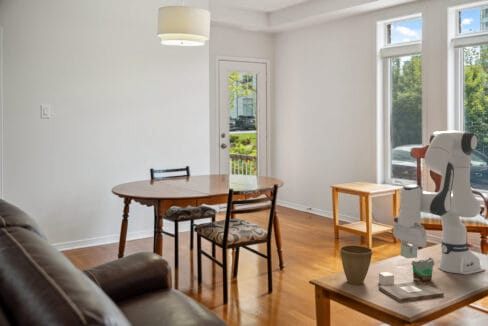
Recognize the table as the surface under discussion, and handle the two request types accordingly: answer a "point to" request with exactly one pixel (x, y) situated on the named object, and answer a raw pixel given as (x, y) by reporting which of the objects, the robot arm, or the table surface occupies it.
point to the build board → (411, 291)
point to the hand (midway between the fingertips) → (408, 251)
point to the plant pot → (355, 262)
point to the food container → (423, 270)
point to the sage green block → (407, 251)
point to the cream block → (386, 278)
